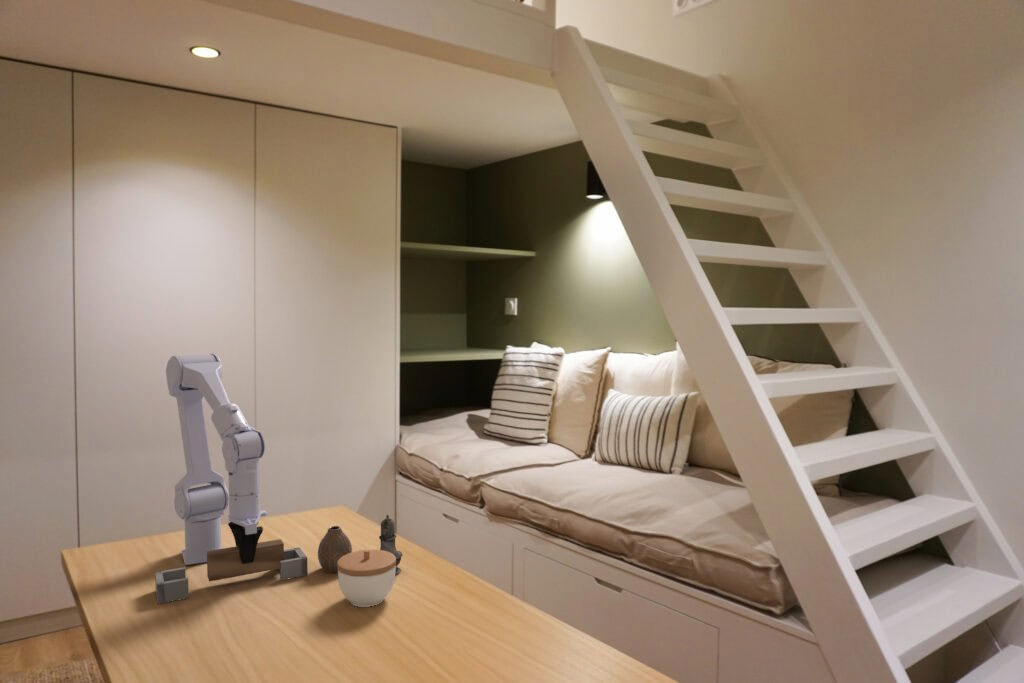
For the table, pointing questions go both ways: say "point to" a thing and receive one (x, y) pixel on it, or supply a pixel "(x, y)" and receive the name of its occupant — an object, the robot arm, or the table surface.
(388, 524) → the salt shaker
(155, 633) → the table surface
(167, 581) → the gray u-shaped clamp
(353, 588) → the lidded jar
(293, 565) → the cap far
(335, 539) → the vase
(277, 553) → the slat
